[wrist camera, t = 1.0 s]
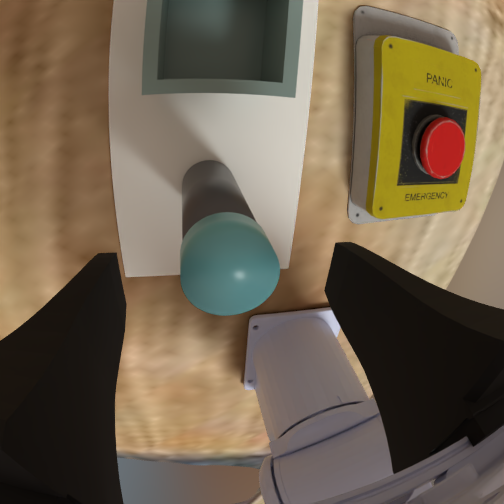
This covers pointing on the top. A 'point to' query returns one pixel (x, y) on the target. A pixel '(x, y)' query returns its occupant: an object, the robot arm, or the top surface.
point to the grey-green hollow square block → (222, 47)
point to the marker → (222, 244)
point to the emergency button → (410, 119)
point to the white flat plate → (199, 148)
